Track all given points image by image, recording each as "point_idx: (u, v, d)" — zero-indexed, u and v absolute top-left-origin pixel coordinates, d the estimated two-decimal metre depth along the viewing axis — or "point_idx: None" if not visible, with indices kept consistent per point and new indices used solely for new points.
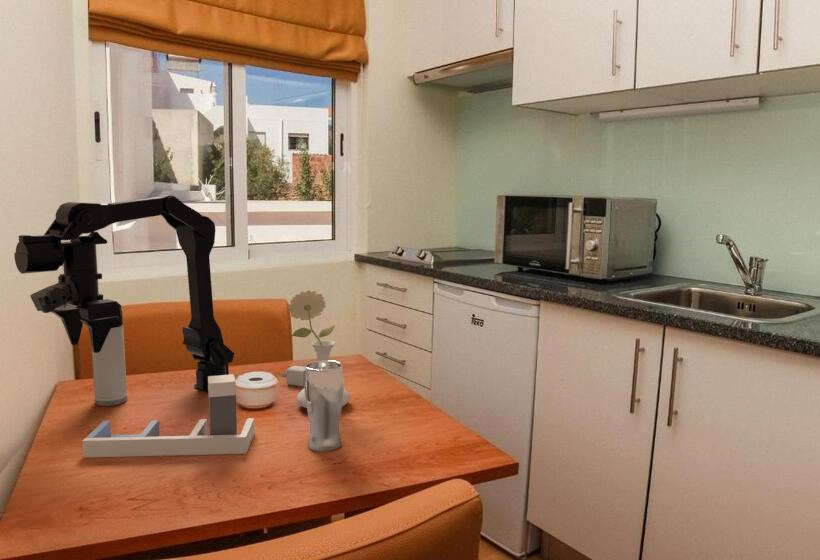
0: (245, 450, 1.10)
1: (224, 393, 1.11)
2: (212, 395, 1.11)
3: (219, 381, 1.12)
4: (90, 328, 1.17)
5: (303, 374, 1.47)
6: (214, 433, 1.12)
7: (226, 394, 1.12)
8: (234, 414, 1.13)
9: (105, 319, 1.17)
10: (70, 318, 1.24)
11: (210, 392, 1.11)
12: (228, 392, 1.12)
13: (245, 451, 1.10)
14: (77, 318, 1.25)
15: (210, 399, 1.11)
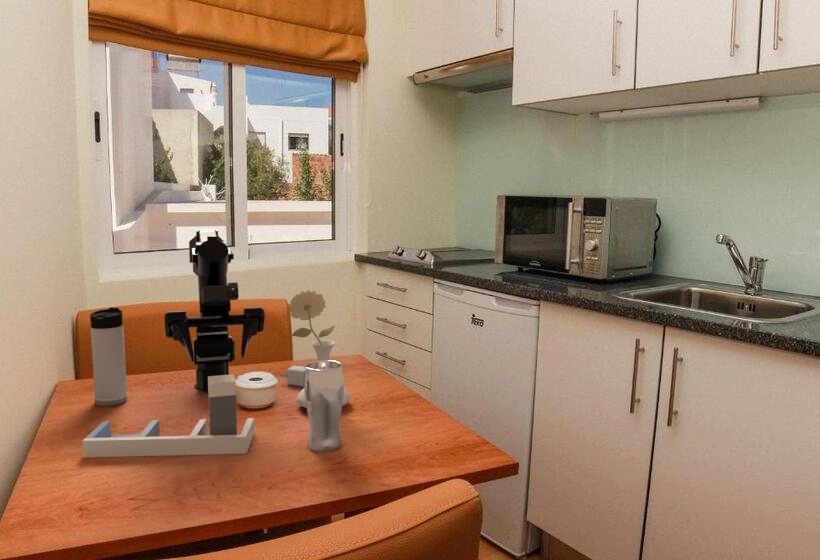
0: (245, 450, 1.10)
1: (224, 393, 1.11)
2: (212, 395, 1.11)
3: (219, 381, 1.12)
4: (247, 330, 1.24)
5: (303, 374, 1.47)
6: (214, 433, 1.12)
7: (226, 394, 1.12)
8: (234, 414, 1.13)
9: None
10: None
11: (210, 392, 1.11)
12: (228, 392, 1.12)
13: (245, 451, 1.10)
14: None
15: (210, 399, 1.11)
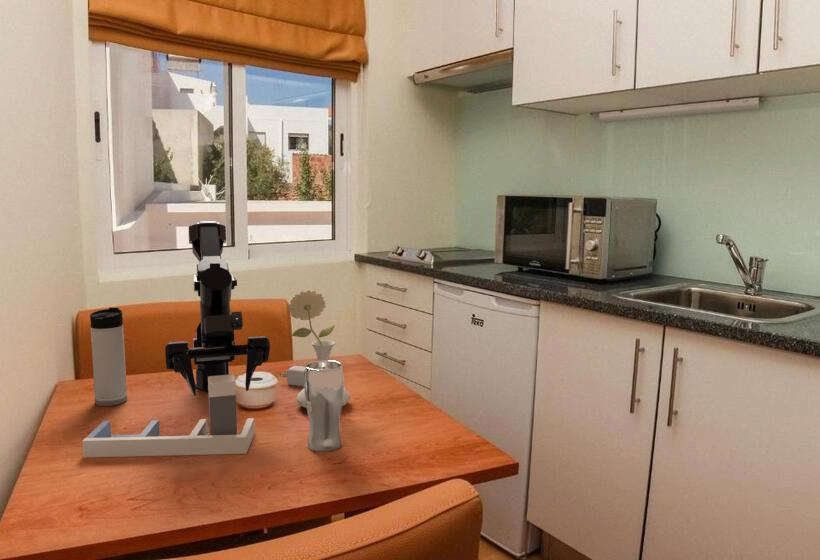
0: (245, 450, 1.10)
1: (224, 393, 1.11)
2: (212, 395, 1.11)
3: (219, 381, 1.12)
4: (252, 361, 1.19)
5: (304, 374, 1.47)
6: (214, 433, 1.12)
7: (226, 394, 1.12)
8: (234, 414, 1.13)
9: None
10: None
11: (210, 392, 1.11)
12: (228, 392, 1.12)
13: (245, 451, 1.10)
14: None
15: (210, 399, 1.11)
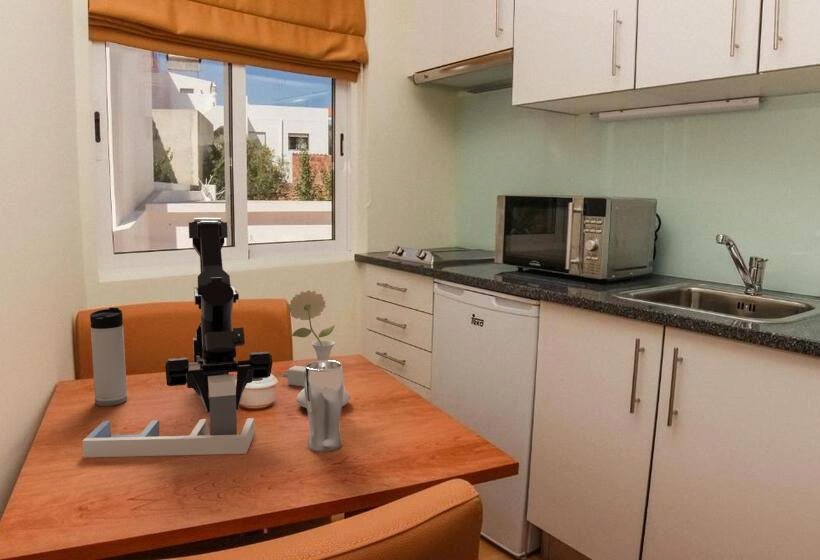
0: (245, 450, 1.10)
1: (224, 393, 1.11)
2: (212, 395, 1.11)
3: (219, 381, 1.12)
4: (242, 379, 1.16)
5: (304, 374, 1.47)
6: (214, 433, 1.12)
7: (226, 394, 1.12)
8: (234, 414, 1.13)
9: (252, 374, 1.19)
10: None
11: (210, 392, 1.11)
12: (228, 392, 1.12)
13: (245, 451, 1.10)
14: None
15: (210, 399, 1.11)
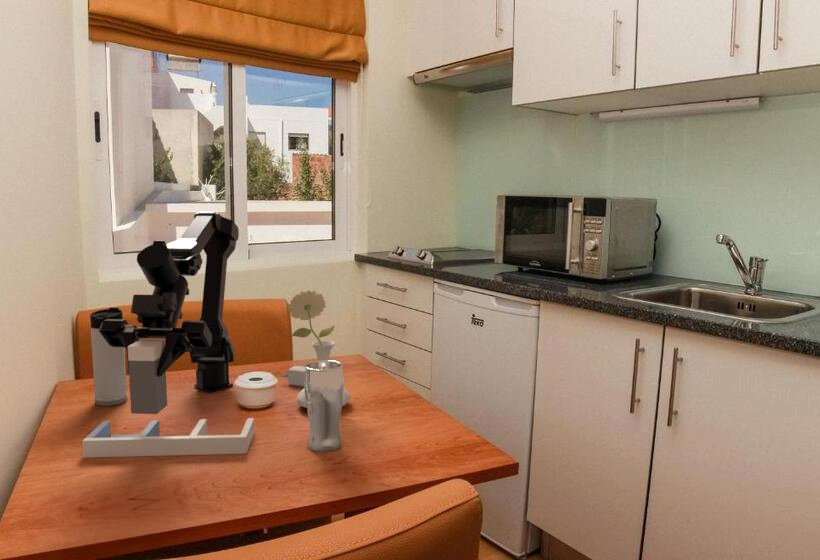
0: (245, 450, 1.10)
1: (142, 358, 1.08)
2: (131, 358, 1.08)
3: (139, 345, 1.09)
4: (170, 346, 1.11)
5: None
6: (134, 398, 1.09)
7: (144, 359, 1.08)
8: (153, 381, 1.09)
9: (187, 343, 1.14)
10: None
11: (129, 355, 1.08)
12: (146, 357, 1.08)
13: (245, 451, 1.10)
14: None
15: (129, 362, 1.08)
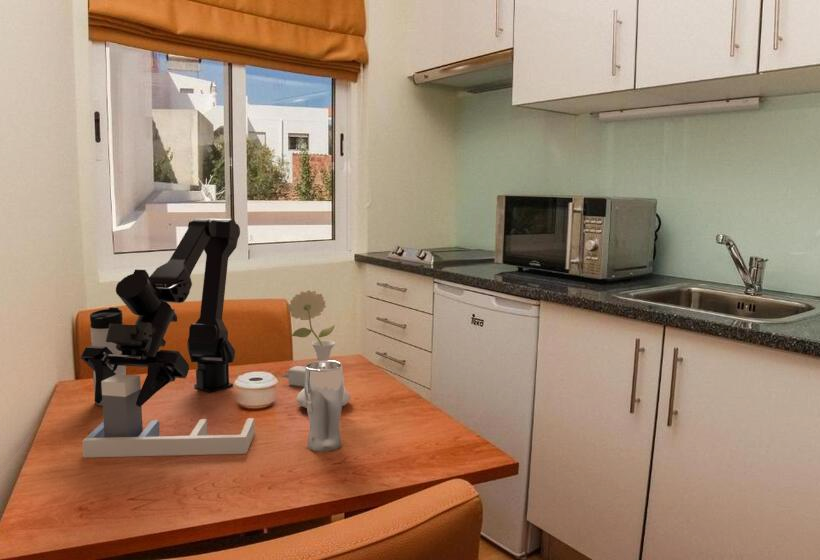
0: (245, 450, 1.10)
1: (115, 393, 1.10)
2: (104, 393, 1.10)
3: (113, 380, 1.10)
4: (151, 376, 1.12)
5: None
6: (107, 432, 1.11)
7: (117, 394, 1.10)
8: (124, 416, 1.10)
9: (170, 373, 1.14)
10: (106, 375, 1.14)
11: (102, 390, 1.10)
12: (118, 393, 1.09)
13: (245, 451, 1.10)
14: None
15: (102, 397, 1.10)
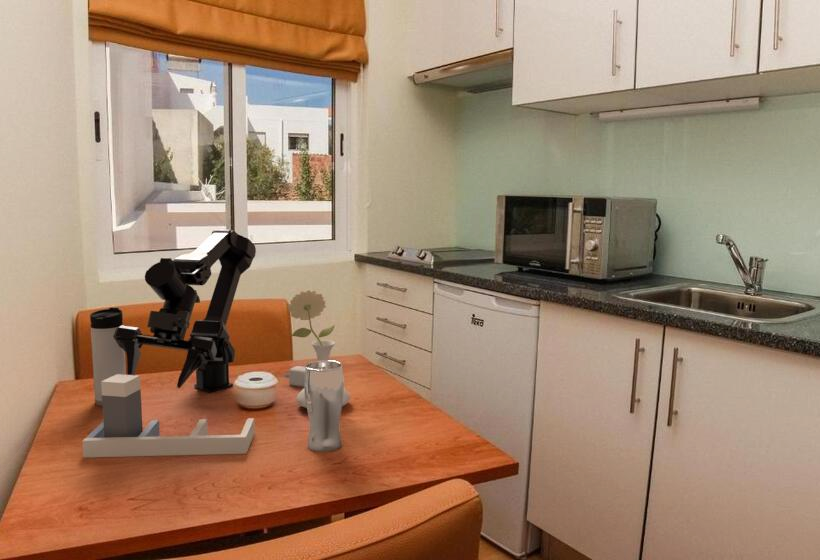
0: (245, 450, 1.10)
1: (115, 393, 1.10)
2: (104, 393, 1.10)
3: (113, 380, 1.10)
4: (190, 360, 1.22)
5: None
6: (107, 432, 1.11)
7: (116, 395, 1.10)
8: (124, 416, 1.10)
9: (205, 358, 1.25)
10: (135, 354, 1.22)
11: (102, 390, 1.10)
12: (118, 393, 1.09)
13: (245, 451, 1.10)
14: (137, 357, 1.23)
15: (102, 397, 1.10)
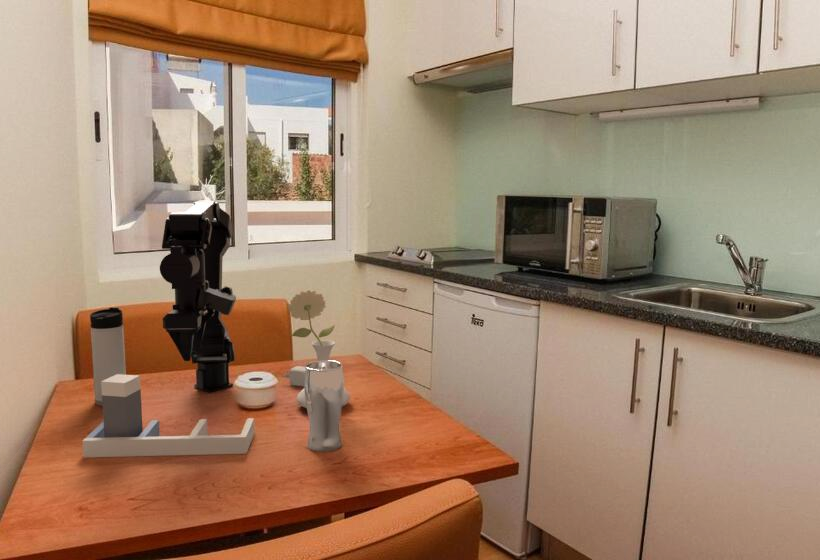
0: (245, 450, 1.10)
1: (115, 393, 1.10)
2: (104, 393, 1.10)
3: (113, 380, 1.10)
4: (205, 323, 1.30)
5: None
6: (107, 432, 1.11)
7: (116, 395, 1.10)
8: (124, 416, 1.10)
9: None
10: None
11: (102, 390, 1.10)
12: (118, 393, 1.09)
13: (245, 451, 1.10)
14: None
15: (102, 397, 1.10)
